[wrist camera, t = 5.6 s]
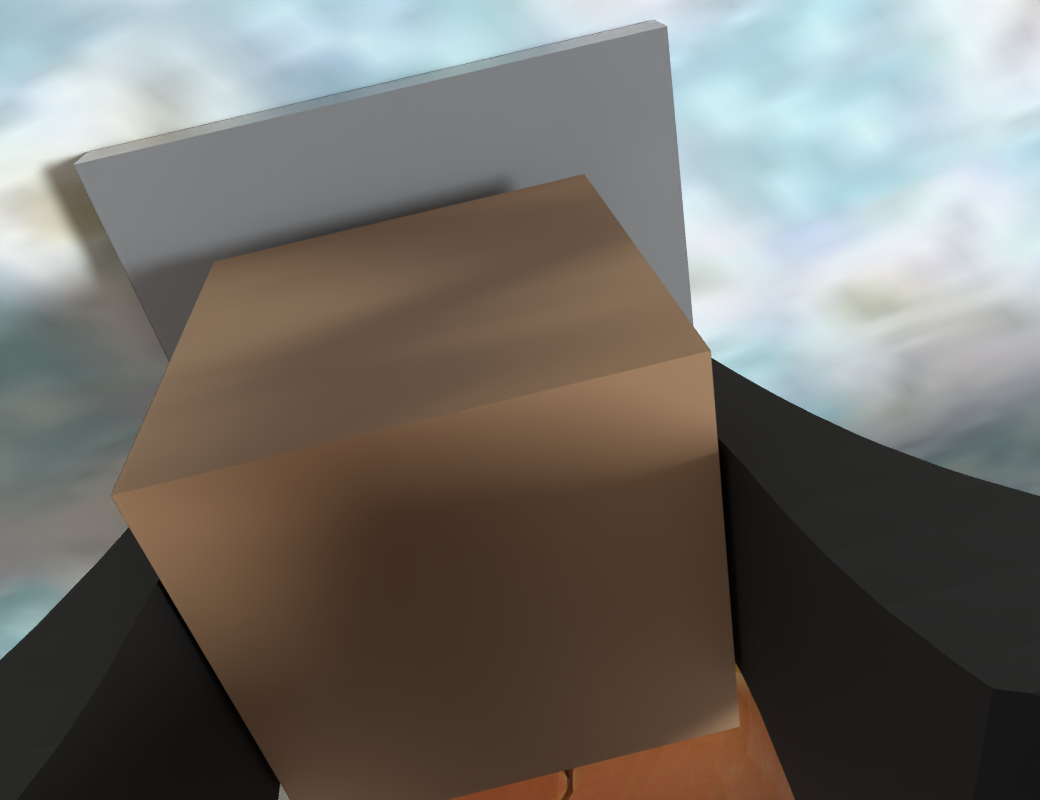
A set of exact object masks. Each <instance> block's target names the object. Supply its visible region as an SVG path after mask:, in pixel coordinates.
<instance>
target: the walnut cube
mask: <svg viewBox="0 0 1040 800" xmlns="http://www.w3.org/2000/svg"><path fill="white" fill-rule="evenodd" d="M111 497H112V499H113V500H114V502H115V504H116V506H117V507H118V509H119V511H120V512H121V514H122V516H123V517H124V519H125V521H126V523H127V524H128V526H129V528H130V529H131V531H132V533H133V534H134V536H135V538H136V539H137V541H138V543H139V545H140V546H141V548H142V550H143V551H144V553H145V555H146V556H147V558H148V560H149V561H150V563H151V565H152V567H153V568H154V570H155V572H156V573H157V575H158V577H159V578H160V580H161V582H162V584H163V585H164V587H165V589H166V590H167V592H168V594H169V595H170V597H171V599H172V600H173V602H174V604H175V606H176V607H177V609H178V611H179V612H180V614H181V616H182V617H183V619H184V621H185V622H186V624H187V626H188V628H189V629H190V631H191V633H192V634H193V636H194V638H195V639H196V641H197V643H198V645H199V646H200V648H201V650H202V651H203V653H204V655H205V656H206V658H207V660H208V661H209V663H210V665H211V667H212V668H213V670H214V672H215V673H216V675H217V677H218V678H219V680H220V682H221V683H222V685H223V687H224V689H225V690H226V692H227V694H228V695H229V697H230V699H231V700H232V702H233V704H234V706H235V707H236V709H237V711H238V712H239V714H240V716H241V717H242V719H243V721H244V722H245V724H246V726H247V728H248V729H249V731H250V733H251V734H252V736H253V738H254V739H255V741H256V743H257V744H258V746H259V748H260V750H261V751H262V753H263V755H264V756H265V758H266V760H267V761H268V763H269V765H270V767H271V768H272V770H273V772H274V773H275V775H276V777H277V778H278V780H279V782H280V783H281V785H282V787H283V789H284V790H285V792H286V794H287V795H288V797H289V799H290V800H449V799H453V798H457V797H461V796H465V795H469V794H473V793H477V792H481V791H485V790H489V789H493V788H497V787H501V786H505V785H509V784H513V783H517V782H521V781H525V780H529V779H533V778H537V777H541V776H545V775H549V774H553V773H557V772H561V771H565V770H569V769H573V768H577V767H581V766H585V765H589V764H592V763H596V762H600V761H604V760H608V759H612V758H616V757H620V756H624V755H628V754H632V753H636V752H640V751H644V750H648V749H652V748H656V747H660V746H664V745H668V744H672V743H676V742H680V741H684V740H688V739H692V738H696V737H700V736H704V735H708V734H712V733H716V732H720V731H724V730H728V729H732V728H736V727H740V722H739V709H738V696H737V683H736V670H735V657H734V644H733V632H732V619H731V606H730V593H729V580H728V567H727V554H726V541H725V528H724V516H723V503H722V490H721V477H720V464H719V451H718V438H717V425H716V413H715V400H714V387H713V374H712V361H711V350H710V349H709V348H708V346H707V345H706V343H705V342H704V341H703V339H702V338H701V336H700V335H699V334H698V332H697V331H696V329H695V328H694V327H693V325H692V324H691V322H690V321H689V320H688V318H687V317H686V315H685V314H684V313H683V311H682V310H681V308H680V307H679V306H678V304H677V303H676V301H675V300H674V299H673V297H672V296H671V294H670V293H669V292H668V290H667V289H666V287H665V286H664V285H663V283H662V282H661V280H660V279H659V278H658V276H657V275H656V273H655V272H654V271H653V269H652V268H651V266H650V265H649V264H648V262H647V261H646V259H645V258H644V257H643V255H642V254H641V252H640V251H639V250H638V248H637V247H636V245H635V244H634V243H633V241H632V240H631V238H630V237H629V236H628V234H627V233H626V231H625V230H624V229H623V227H622V226H621V225H620V223H619V222H618V220H617V219H616V218H615V216H614V215H613V213H612V212H611V211H610V209H609V208H608V206H607V205H606V204H605V202H604V201H603V199H602V198H601V197H600V195H599V194H598V192H597V191H596V190H595V188H594V187H593V185H592V184H591V183H590V181H589V180H588V178H587V177H586V176H585V174H582V175H578V176H574V177H569V178H565V179H561V180H557V181H553V182H548V183H544V184H540V185H536V186H531V187H527V188H523V189H519V190H515V191H510V192H506V193H502V194H498V195H493V196H489V197H485V198H481V199H476V200H472V201H468V202H464V203H460V204H455V205H451V206H447V207H443V208H438V209H434V210H430V211H426V212H422V213H417V214H413V215H409V216H405V217H400V218H396V219H392V220H388V221H383V222H379V223H375V224H371V225H367V226H362V227H358V228H354V229H350V230H345V231H341V232H337V233H333V234H329V235H324V236H320V237H316V238H312V239H307V240H303V241H299V242H295V243H291V244H286V245H282V246H278V247H274V248H269V249H265V250H261V251H257V252H252V253H248V254H244V255H240V256H236V257H231V258H227V259H223V260H219V261H214V263H213V265H212V267H211V269H210V272H209V274H208V276H207V279H206V281H205V283H204V285H203V288H202V290H201V292H200V294H199V297H198V299H197V301H196V303H195V306H194V308H193V310H192V313H191V315H190V317H189V319H188V322H187V324H186V326H185V328H184V331H183V333H182V335H181V337H180V340H179V342H178V344H177V346H176V349H175V351H174V353H173V356H172V358H171V360H170V362H169V365H168V367H167V369H166V371H165V374H164V376H163V378H162V380H161V383H160V385H159V387H158V390H157V392H156V394H155V396H154V399H153V401H152V403H151V405H150V408H149V410H148V412H147V414H146V417H145V419H144V421H143V423H142V426H141V428H140V430H139V433H138V435H137V437H136V439H135V442H134V444H133V446H132V448H131V451H130V453H129V455H128V457H127V460H126V462H125V464H124V467H123V469H122V471H121V473H120V476H119V478H118V480H117V482H116V485H115V487H114V489H113V491H112V494H111Z"/></svg>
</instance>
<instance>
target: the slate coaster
mask: <svg viewBox="0 0 1040 800" xmlns="http://www.w3.org/2000/svg"><path fill="white" fill-rule="evenodd" d="M74 167H75V170H76V172H77V174H78V176H79V178H80V180H81V182H82V184H83V186H84V188H85V190H86V192H87V194H88V196H89V198H90V200H91V202H92V204H93V206H94V208H95V211H96V213H97V215H98V217H99V219H100V221H101V223H102V225H103V227H104V229H105V231H106V233H107V235H108V237H109V239H110V241H111V243H112V245H113V247H114V249H115V252H116V254H117V256H118V258H119V260H120V262H121V264H122V266H123V268H124V270H125V272H126V274H127V276H128V278H129V280H130V282H131V284H132V286H133V288H134V290H135V293H136V295H137V297H138V299H139V301H140V303H141V305H142V307H143V309H144V311H145V313H146V315H147V317H148V319H149V321H150V323H151V325H152V327H153V329H154V331H155V334H156V336H157V338H158V340H159V342H160V344H161V346H162V348H163V350H164V352H165V354H166V356H167V358H168V360H169V362H170V360H171V358H172V356H173V353H174V351H175V349H176V346H177V344H178V342H179V340H180V337H181V335H182V333H183V331H184V328H185V326H186V324H187V322H188V319H189V317H190V315H191V313H192V310H193V308H194V306H195V303H196V301H197V299H198V297H199V294H200V292H201V290H202V288H203V285H204V283H205V281H206V279H207V276H208V274H209V272H210V269H211V267H212V265H213V263H214V261H219V260H223V259H227V258H231V257H236V256H240V255H244V254H248V253H252V252H257V251H261V250H265V249H269V248H274V247H278V246H282V245H286V244H291V243H295V242H299V241H303V240H307V239H312V238H316V237H320V236H324V235H329V234H333V233H337V232H341V231H345V230H350V229H354V228H358V227H362V226H367V225H371V224H375V223H379V222H383V221H388V220H392V219H396V218H400V217H405V216H409V215H413V214H417V213H422V212H426V211H430V210H434V209H438V208H443V207H447V206H451V205H455V204H460V203H464V202H468V201H472V200H476V199H481V198H485V197H489V196H493V195H498V194H502V193H506V192H510V191H515V190H519V189H523V188H527V187H531V186H536V185H540V184H544V183H548V182H553V181H557V180H561V179H565V178H569V177H574V176H578V175H582V174H585V176H586V177H587V178H588V180H589V181H590V183H591V184H592V185H593V187H594V188H595V190H596V191H597V192H598V194H599V195H600V197H601V198H602V199H603V201H604V202H605V204H606V205H607V206H608V208H609V209H610V211H611V212H612V213H613V215H614V216H615V218H616V219H617V220H618V222H619V223H620V225H621V226H622V227H623V229H624V230H625V231H626V233H627V234H628V236H629V237H630V238H631V240H632V241H633V243H634V244H635V245H636V247H637V248H638V250H639V251H640V252H641V254H642V255H643V257H644V258H645V259H646V261H647V262H648V264H649V265H650V266H651V268H652V269H653V271H654V272H655V273H656V275H657V276H658V278H659V279H660V280H661V282H662V283H663V285H664V286H665V287H666V289H667V290H668V292H669V293H670V294H671V296H672V297H673V299H674V300H675V301H676V303H677V304H678V306H679V307H680V308H681V310H682V311H683V313H684V314H685V315H686V317H687V318H688V320H689V321H690V322H691V324H692V325H693V317H692V306H691V294H690V283H689V272H688V260H687V249H686V237H685V226H684V215H683V203H682V192H681V180H680V169H679V158H678V146H677V135H676V123H675V112H674V101H673V89H672V78H671V67H670V55H669V44H668V32H667V26H666V25H664V24H661V23H659V22H657V21H655V20H652V21H648V22H644V23H639V24H635V25H631V26H626V27H622V28H618V29H614V30H609V31H605V32H601V33H596V34H592V35H588V36H584V37H579V38H575V39H571V40H566V41H562V42H558V43H554V44H549V45H545V46H541V47H536V48H532V49H528V50H524V51H519V52H515V53H511V54H506V55H502V56H498V57H494V58H489V59H485V60H481V61H476V62H472V63H468V64H463V65H459V66H455V67H451V68H446V69H442V70H438V71H433V72H429V73H425V74H421V75H416V76H412V77H408V78H403V79H399V80H395V81H391V82H386V83H382V84H378V85H373V86H369V87H365V88H361V89H356V90H352V91H348V92H343V93H339V94H335V95H331V96H326V97H322V98H318V99H313V100H309V101H305V102H301V103H296V104H292V105H288V106H283V107H279V108H275V109H271V110H266V111H262V112H258V113H253V114H249V115H245V116H241V117H236V118H232V119H228V120H223V121H219V122H215V123H211V124H206V125H202V126H198V127H193V128H189V129H185V130H180V131H176V132H172V133H168V134H163V135H159V136H155V137H150V138H146V139H142V140H138V141H133V142H129V143H125V144H120V145H116V146H112V147H108V148H103V149H99V150H95V151H90V152H87V153H85V154H84V155H83V156H82V157H81V158H80V159H79V160H78V161H77V162H76V163H75V164H74Z"/></svg>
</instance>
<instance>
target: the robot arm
mask: <svg viewBox="0 0 1040 800" xmlns="http://www.w3.org/2000/svg"><path fill="white" fill-rule="evenodd" d="M711 361H712V374H713V387H714V400H715V413H716V425H717V438H718V451H719V464H720V477H721V490H722V503H723V516H724V528H725V541H726V554H727V567H728V580H729V593H730V606H731V619H732V632H733V644H734V657H735V662H736V664H737V666H738V668H739V670H740V672H741V674H742V676H743V678H744V680H745V682H746V684H747V686H748V688H749V690H750V692H751V695H752V697H753V699H754V701H755V703H756V705H757V707H758V709H759V712H760V714H761V717H762V719H763V722H764V724H765V726H766V729H767V731H768V734H769V736H770V739H771V741H772V744H773V746H774V749H775V751H776V754H777V756H778V759H779V761H780V764H781V766H782V768H783V771H784V773H785V776H786V778H787V781H788V783H789V786H790V788H791V791H792V793H793V796H794V799H795V800H1040V496H1037V495H1033V494H1030V493H1026V492H1023V491H1019V490H1016V489H1012V488H1009V487H1005V486H1002V485H998V484H995V483H991V482H988V481H984V480H981V479H977V478H974V477H971V476H968V475H964V474H961V473H958V472H955V471H952V470H949V469H946V468H943V467H940V466H937V465H934V464H932V463H929V462H926V461H924V460H921V459H918V458H915V457H913V456H910V455H907V454H905V453H902V452H899V451H897V450H894V449H891V448H889V447H886V446H883V445H881V444H878V443H876V442H874V441H871V440H869V439H866V438H864V437H862V436H859V435H857V434H855V433H852V432H850V431H848V430H846V429H844V428H842V427H840V426H837V425H835V424H833V423H831V422H829V421H827V420H825V419H822V418H820V417H818V416H816V415H814V414H812V413H810V412H808V411H806V410H804V409H802V408H800V407H798V406H796V405H794V404H792V403H790V402H788V401H786V400H784V399H782V398H781V397H779V396H777V395H775V394H773V393H771V392H770V391H768V390H766V389H764V388H762V387H760V386H759V385H757V384H755V383H753V382H752V381H750V380H748V379H746V378H745V377H743V376H741V375H739V374H738V373H736V372H734V371H733V370H731V369H729V368H728V367H726V366H724V365H723V364H721V363H719V362H717V361H716V360H714V359H712V358H711ZM279 788H280V782H279V780H278V778H277V777H276V775H275V773H274V772H273V770H272V768H271V767H270V765H269V763H268V761H267V760H266V758H265V756H264V755H263V753H262V751H261V750H260V748H259V746H258V744H257V743H256V741H255V739H254V738H253V736H252V734H251V733H250V731H249V729H248V728H247V726H246V724H245V722H244V721H243V719H242V717H241V716H240V714H239V712H238V711H237V709H236V707H235V706H234V704H233V702H232V700H231V699H230V697H229V695H228V694H227V692H226V690H225V689H224V687H223V685H222V683H221V682H220V680H219V678H218V677H217V675H216V673H215V672H214V670H213V668H212V667H211V665H210V663H209V661H208V660H207V658H206V656H205V655H204V653H203V651H202V650H201V648H200V646H199V645H198V643H197V641H196V639H195V638H194V636H193V634H192V633H191V631H190V629H189V628H188V626H187V624H186V622H185V621H184V619H183V617H182V616H181V614H180V612H179V611H178V609H177V607H176V606H175V604H174V602H173V600H172V599H171V597H170V595H169V594H168V592H167V590H166V589H165V587H164V585H163V584H162V582H161V580H160V578H159V577H158V575H157V573H156V572H155V570H154V568H153V567H152V565H151V563H150V561H149V560H148V558H147V556H146V555H145V553H144V551H143V550H142V548H141V546H140V545H139V543H138V541H137V539H136V538H135V536H134V534H133V533H132V531H131V529H130V528H128V529H127V530H126V531H125V532H124V533H123V535H122V536H121V537H120V538H119V539H118V540H117V541H116V542H115V544H114V545H113V546H112V547H111V548H110V549H109V550H108V551H107V553H106V554H105V555H104V556H103V557H102V558H101V559H100V560H99V561H98V562H97V564H96V565H95V566H94V567H93V568H92V569H91V570H90V571H89V572H88V573H87V574H86V575H85V576H84V577H83V578H82V579H81V580H80V581H79V582H78V583H77V584H76V585H75V586H74V587H73V588H72V589H71V590H70V592H69V593H68V594H67V595H66V596H65V597H64V598H63V599H62V600H61V601H60V602H59V603H58V604H57V605H56V606H55V607H54V608H53V609H52V610H51V611H50V612H49V613H48V614H47V615H46V616H45V617H44V618H43V619H42V620H41V621H40V623H39V624H38V625H37V626H36V627H35V628H34V629H33V630H31V631H30V632H29V633H28V634H27V635H26V636H25V637H24V638H23V639H22V640H21V641H20V642H19V643H18V644H17V645H16V646H15V647H14V648H13V649H12V650H10V651H9V652H8V653H7V654H6V655H5V656H4V657H3V658H2V659H1V660H0V800H278V796H279Z"/></svg>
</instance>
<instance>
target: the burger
mask: <svg viewBox="0 0 1040 800" xmlns="http://www.w3.org/2000/svg"><path fill="white" fill-rule="evenodd" d="M735 670H736V683H737V696H738V709H739V722H740V727H736V728H732V729H728V730H724V731H720V732H716V733H712V734H708V735H704V736H700V737H696V738H692V739H688V740H684V741H680V742H676V743H672V744H668V745H664V746H660V747H656V748H652V749H648V750H644V751H640V752H636V753H632V754H628V755H624V756H620V757H616V758H612V759H608V760H604V761H600V762H596V763H592V764H589V765H585V766H581V767H577V768H573V769H569V770H565V771H561V772H557V773H553V774H549V775H545V776H541V777H537V778H533V779H529V780H525V781H521V782H517V783H513V784H509V785H505V786H501V787H497V788H493V789H489V790H485V791H481V792H477V793H473V794H469V795H465V796H461V797H457V798H453V799H449V800H795V799H794V796H793V793H792V791H791V788H790V786H789V783H788V781H787V778H786V776H785V773H784V771H783V768H782V766H781V764H780V761H779V759H778V756H777V754H776V751H775V749H774V746H773V744H772V741H771V739H770V736H769V734H768V731H767V729H766V726H765V724H764V722H763V719H762V717H761V714H760V712H759V709H758V707H757V705H756V703H755V701H754V699H753V697H752V695H751V692H750V690H749V688H748V686H747V684H746V682H745V680H744V678H743V676H742V674H741V672H740V670H739V668H738V666H737V664H736V662H735Z"/></svg>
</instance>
